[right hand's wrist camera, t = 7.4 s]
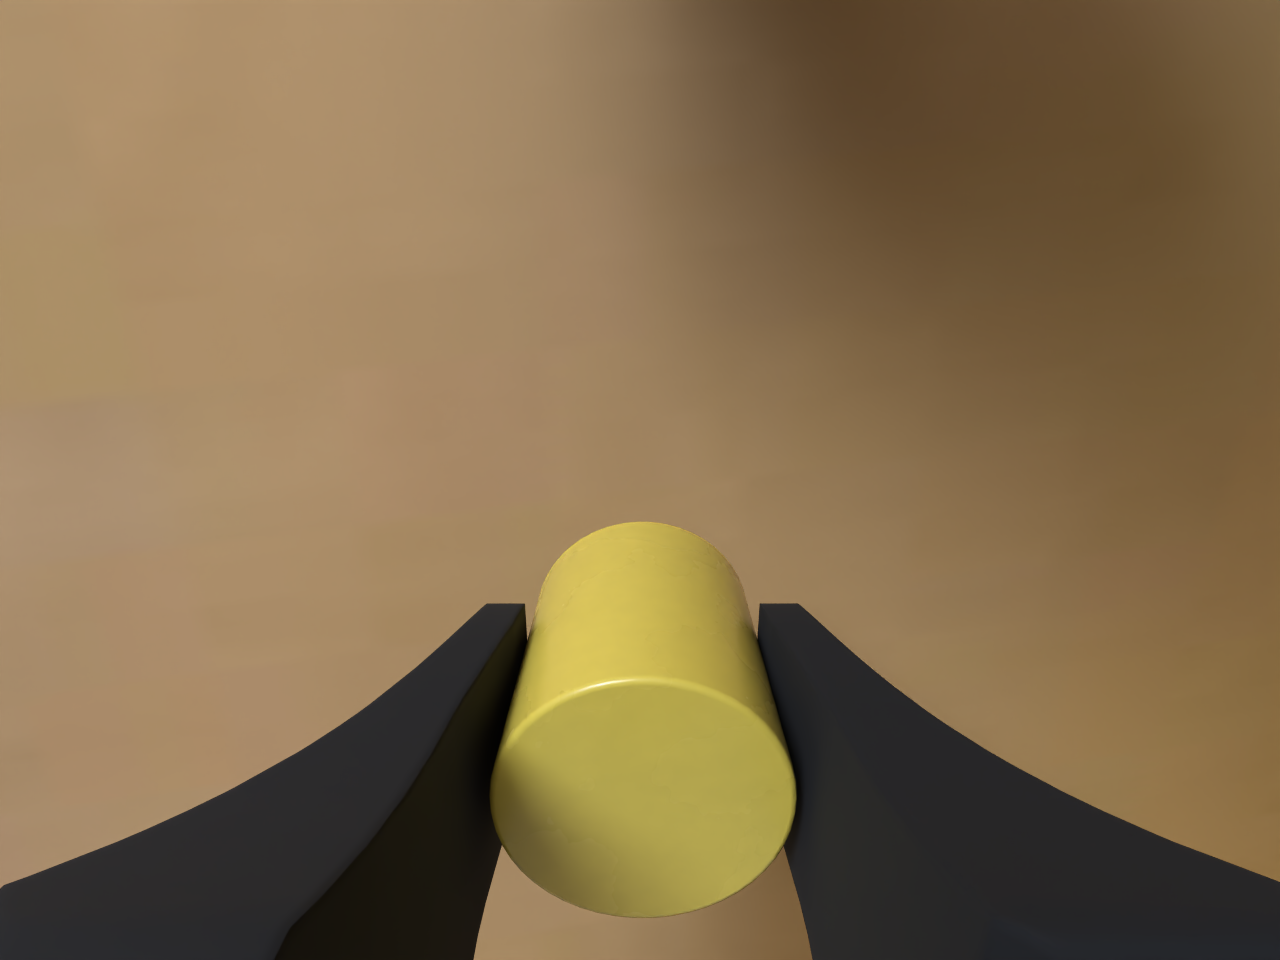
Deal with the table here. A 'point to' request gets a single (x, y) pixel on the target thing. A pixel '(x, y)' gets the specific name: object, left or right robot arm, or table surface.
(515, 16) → the table surface
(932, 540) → the table surface
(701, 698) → the canister
